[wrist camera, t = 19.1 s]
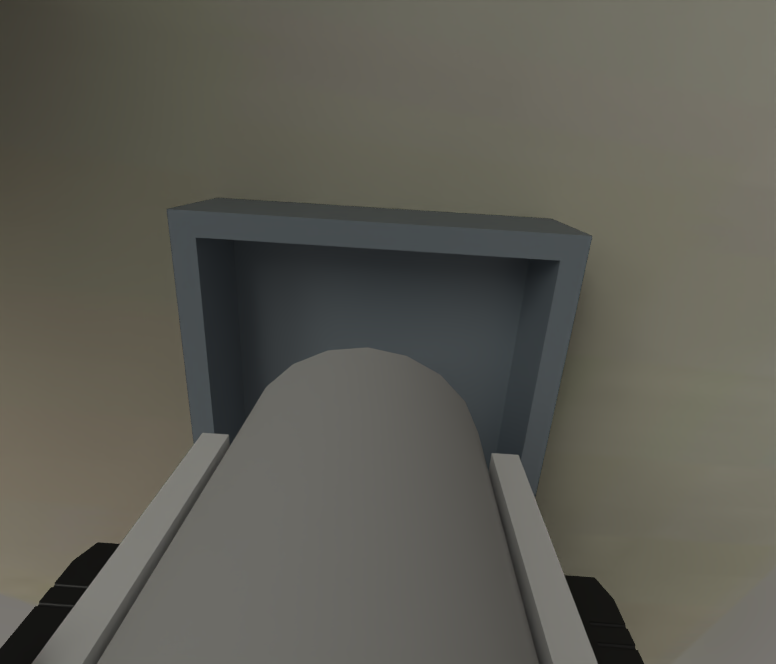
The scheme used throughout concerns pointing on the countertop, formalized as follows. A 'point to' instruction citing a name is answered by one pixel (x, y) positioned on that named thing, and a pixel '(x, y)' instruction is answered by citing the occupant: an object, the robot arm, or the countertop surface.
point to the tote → (378, 305)
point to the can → (339, 534)
